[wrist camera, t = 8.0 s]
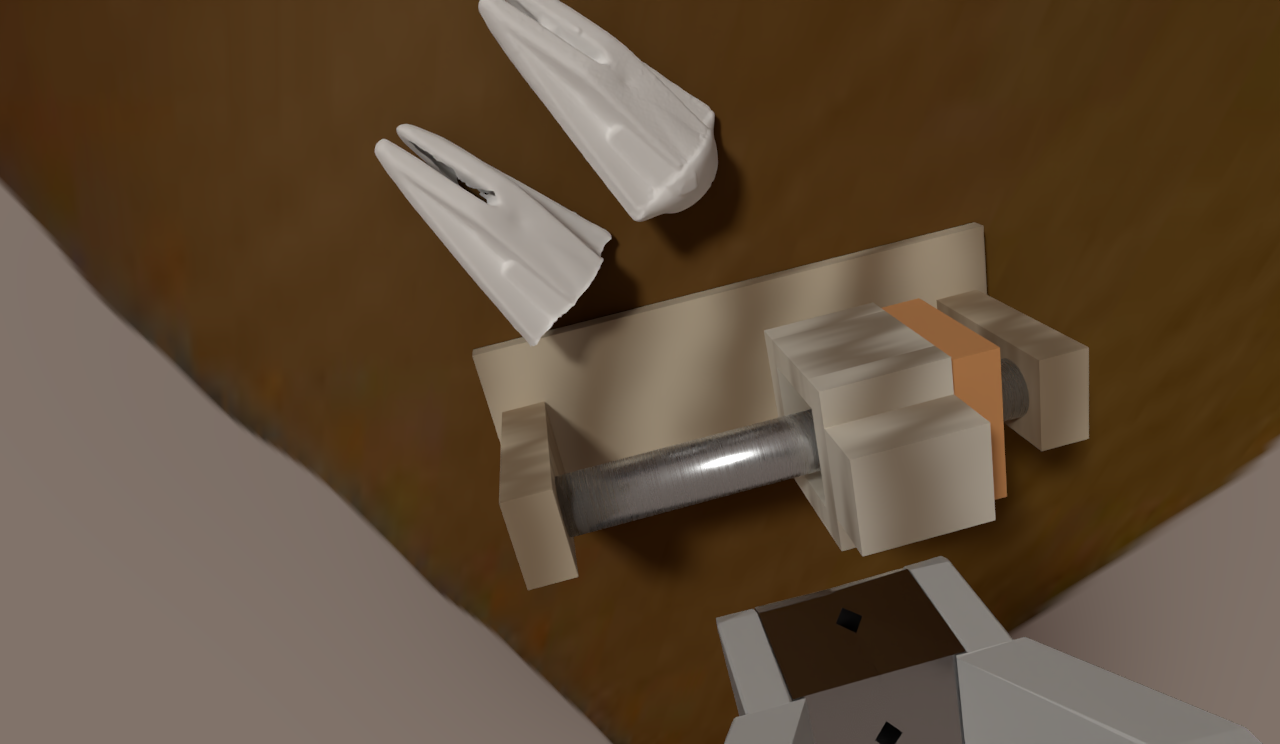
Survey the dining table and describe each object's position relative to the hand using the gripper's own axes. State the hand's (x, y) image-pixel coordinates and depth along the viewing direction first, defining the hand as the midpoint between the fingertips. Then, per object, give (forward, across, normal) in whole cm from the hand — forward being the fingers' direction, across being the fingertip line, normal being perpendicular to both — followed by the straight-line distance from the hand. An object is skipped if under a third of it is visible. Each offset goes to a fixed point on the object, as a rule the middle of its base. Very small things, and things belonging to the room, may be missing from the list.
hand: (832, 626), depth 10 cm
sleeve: (+25, -7, +10) cm, 28 cm away
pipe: (+22, -4, +10) cm, 24 cm away
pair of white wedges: (+28, +2, -4) cm, 28 cm away
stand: (+28, -4, +10) cm, 29 cm away
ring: (+25, -11, +10) cm, 29 cm away
